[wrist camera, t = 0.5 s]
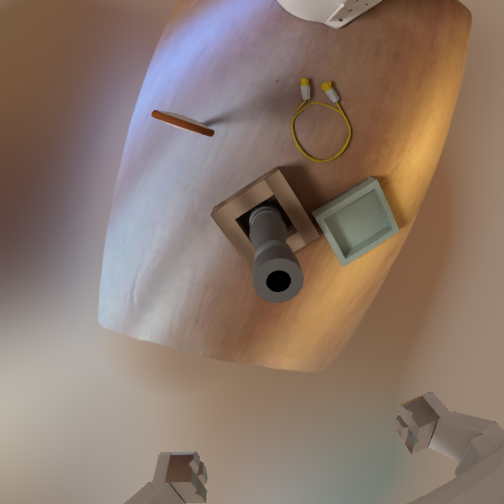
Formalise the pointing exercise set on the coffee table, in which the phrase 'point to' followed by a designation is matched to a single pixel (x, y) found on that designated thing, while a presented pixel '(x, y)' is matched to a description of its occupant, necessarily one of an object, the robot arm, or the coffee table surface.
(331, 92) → the extension cord
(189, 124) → the magnifying glass
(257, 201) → the socket block
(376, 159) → the coffee table surface
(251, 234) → the candle holder
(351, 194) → the parts tray
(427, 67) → the coffee table surface
